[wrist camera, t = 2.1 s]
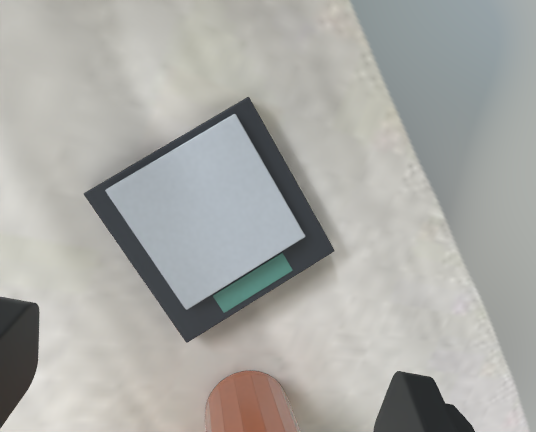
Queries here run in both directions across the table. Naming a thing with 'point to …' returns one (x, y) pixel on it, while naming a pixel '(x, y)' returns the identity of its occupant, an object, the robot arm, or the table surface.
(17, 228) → the table surface
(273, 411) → the cup
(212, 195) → the scale
